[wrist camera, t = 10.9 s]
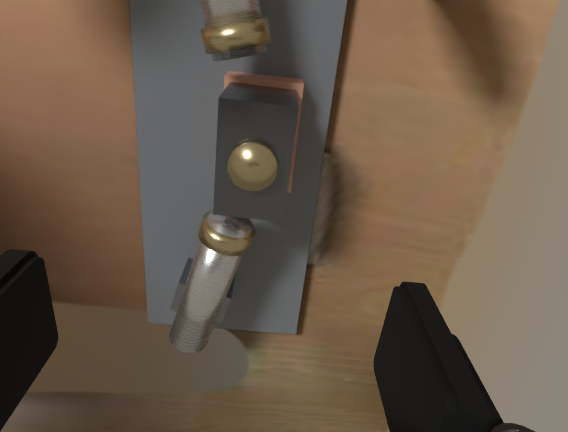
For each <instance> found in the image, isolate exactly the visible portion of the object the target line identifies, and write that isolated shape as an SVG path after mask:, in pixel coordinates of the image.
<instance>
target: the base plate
mask: <svg viewBox="0 0 568 432" xmlns="http://www.w3.org/2000/svg"><path fill="white" fill-rule="evenodd" d="M259 2H260V8H261V14H262V18H265V17H268V21H269V28H270V34H271V40H272V42H271V43H268V44H267V50H268V51H266V52H264V53H260V54H256V55H252V56H247V57H242V58H237V59H230V60H223V61H213V59H212V54H206V53H205V49H204V45H203V40H202V36H201V31H200V29H204V28H206V27H205V23H204V18H203V14H202V9H201V5H200V1H199V0H129V9H130V26H131V43H132V60H133V77H134V94H135V111H136V128H137V145H138V162H139V179H140V196H141V213H142V230H143V247H144V264H145V281H146V298H147V315H148V323H159V324H170V325H172V323H173V320H174V317H175V314H176V311H174V310H170V308H171V305H172V301H173V298H174V295H175V292H176V289H177V286H178V283H179V280H180V278H181V275H182V273H183V270H184V268H185V265H186V262H187V260H188V258H192V259H194V257H195V254H196V251H197V248H198V245H199V242H200V239H199V237H198V230H199V227H200V224H201V221H202V218H203V216H204V214H205V213H206V212H208V211H211V210H212V209H213V203H214V182H215V162H216V141H217V120H218V99H219V96H220V95H221V94H222V92H223V91H224V90H225V88H226V87H227V86H228V84H229V83H230V82H236V83H244V84H252V85H260V86H268V87H276V88H284V89H292V90H296V92H297V99H298V105H299V110H298V117H297V125H296V132H295V139H294V147H293V154H292V161H291V169H290V176H289V184H288V191H287V198H286V206H285V213H284V220H283V222H277V221H268V220H259V219H250V218H249V219H250V220H251V221H252V223H253V226H254V228H255V230H256V234H255V237H254V240H253V242H252V245H251V247H250V250H249V251H248V252H247V253H246V254H244V255H242V258H241V260H240V263H239V265H238V268H237V270H236V276H235V281H234V287H233V292H232V298H231V301H230V303H229V306H228V308H227V311H226V313H225V315H224V318H223V320H222V323H221V324H219V323H215V326H214V328H220V329H233V330H245V331H258V332H270V333H283V334H295V335H296V331H297V325H298V318H299V312H300V305H301V299H302V292H303V286H304V279H305V273H306V266H307V259H308V253H309V246H310V240H311V233H312V227H313V220H314V214H315V207H316V201H317V194H318V188H319V181H320V175H321V168H322V162H323V155H324V149H325V142H326V136H327V129H328V123H329V116H330V110H331V103H332V97H333V90H334V84H335V77H336V71H337V64H338V58H339V51H340V45H341V38H342V32H343V25H344V19H345V12H346V6H347V0H259Z"/></svg>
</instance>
